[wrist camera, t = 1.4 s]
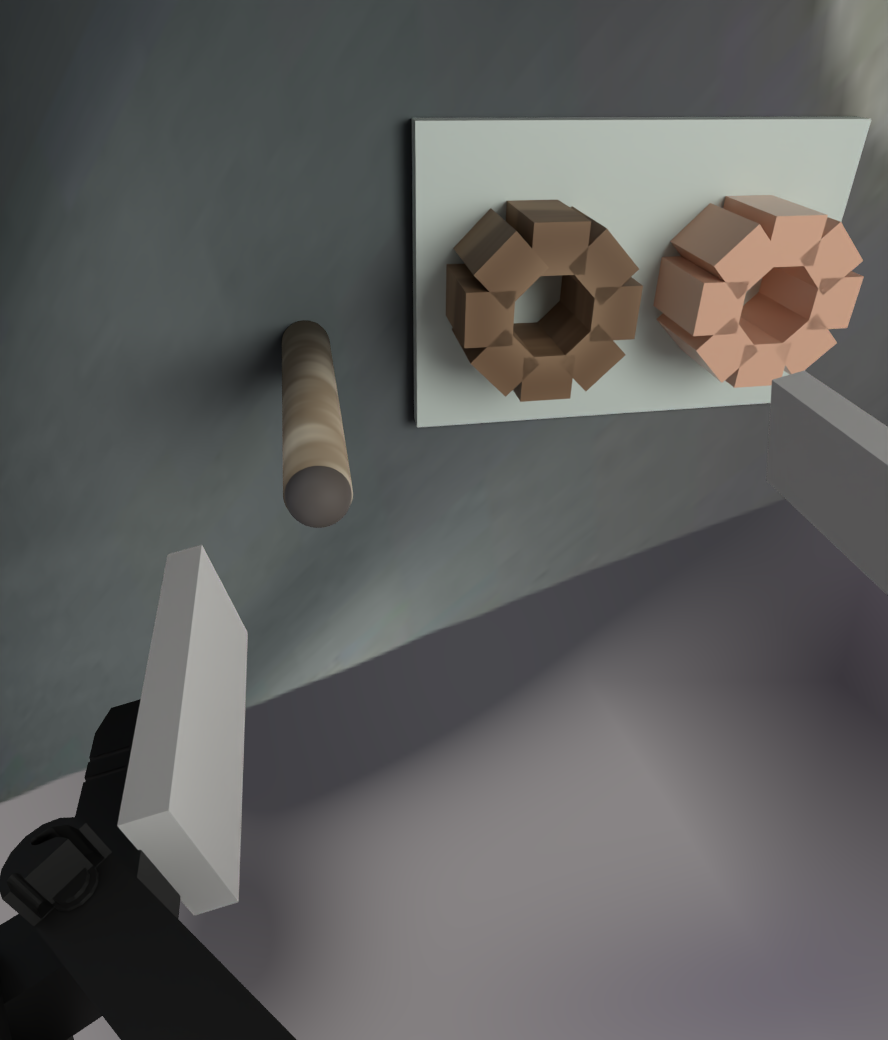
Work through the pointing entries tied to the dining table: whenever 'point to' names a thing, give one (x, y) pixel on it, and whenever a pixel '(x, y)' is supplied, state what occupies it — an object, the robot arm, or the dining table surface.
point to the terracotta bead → (782, 295)
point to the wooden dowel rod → (312, 430)
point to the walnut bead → (568, 325)
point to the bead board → (623, 211)
